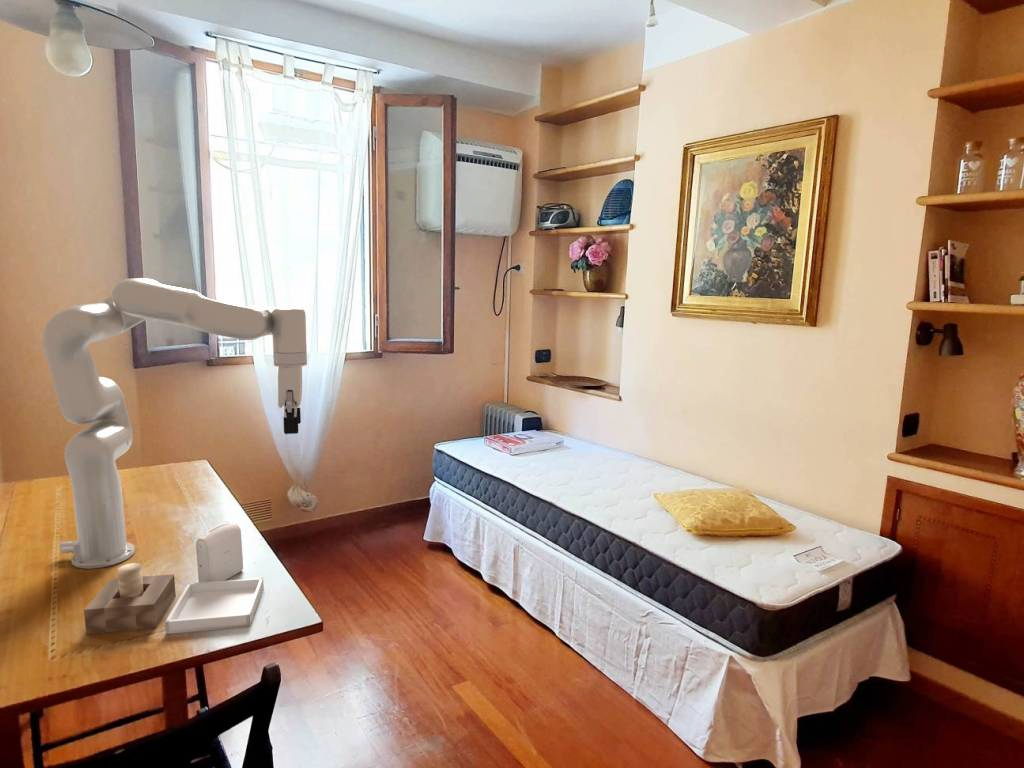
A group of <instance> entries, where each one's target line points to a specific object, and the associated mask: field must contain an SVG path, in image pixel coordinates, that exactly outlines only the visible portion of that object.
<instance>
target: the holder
mask: <svg viewBox="0 0 1024 768" xmlns="http://www.w3.org/2000/svg"><path fill="white" fill-rule="evenodd" d="M142 580H143V592H144V593H143V595H142V596H141V597H129V598H120V592H119V581H118V577H117V578H116V577H115V578H110V579H109V580H108V581H107V582H106V583H105V585H103V587H102V588H101V589H100V590H99V592H98V593H97V594H96V595H95V596H94V597H93V599H91V601H90V602H89V603H88V604H87V605H86V606H85V608H84V609H83V615H84V623H85V625H84V626H85V632H86V633H85V634H86V635H91V634H100V633H101V634H102V633H110V632H111V633H112V632H124V631H125V632H126V631H136V630H149V629H156V628H158V626H159V624H160V623H161V621H162V619H163V617H164V616H165V614H166V612H167V611H168V610H169V608H170V606H171V605H172V603H173V601H174V600H175V598H176V597H177V596H176V583H175V581H176V580H175V574H164V575H163V574H160V575H147V576H142Z"/></svg>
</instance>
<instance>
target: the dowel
mask: <svg viewBox="0 0 1024 768" xmlns="http://www.w3.org/2000/svg"><path fill="white" fill-rule="evenodd" d="M142 570H143V569H142V564H141V563H138V562H131V563H126V564H124V565H123V564H122V565H121V566H120V567H118V568H117V578H118V581H119V592H120V598H129V597H141V596H142V595H143V593H144V592H143V580H142V577H143V571H142Z"/></svg>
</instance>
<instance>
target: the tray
mask: <svg viewBox="0 0 1024 768" xmlns="http://www.w3.org/2000/svg"><path fill="white" fill-rule="evenodd" d="M264 584H265V583H264V577H254V578H241V579H239V578H238V579H231V580H230V579H229V580H228V579H227V580H225V581H212V582H199V581H198V582H189V583H187V585H186V587H185V588H184V590H183V592H182V593H181V594H180V596H179V598H178V600H177V602H176V603H175V605H174V606H173V608H172V609H171V611H170V613H169V615H168V617H167V618H166V619H165V621H164V626H165V635H168V634H170V635H171V634H180V633H193V632H203V631H213V630H215V631H216V630H224V629H225V630H226V629H235V628H236V629H237V628H248V627H251V625H252V622H253V619H254V616H255V614H256V611H257V609H258V605H259V602H260V600H261V597H262V595H261V594H263V592H262V591H264V589H263V588H265V587H264V586H265V585H264Z"/></svg>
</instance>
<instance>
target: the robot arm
mask: <svg viewBox="0 0 1024 768" xmlns="http://www.w3.org/2000/svg"><path fill="white" fill-rule="evenodd" d="M306 319H307V318H306V311H305V310H304V308H302V307H297V306H277V307H273V306H267V305H261V304H254V305H253V304H252V305H248V306H244V305H238V304H233V303H228V302H223V301H219V300H215V299H213V298H212V299H211V298H208V297H206V296H204V295H202V293H200V292H198V291H197V290H193V289H188V288H183V287H177V286H174V285H173V286H172V285H167V284H164V283H163V284H162V283H160V282H158V281H157V280H155V279H152V278H147V277H139V278H138V277H137V278H136V277H134V278H133V277H132V278H131V277H130V278H125V279H123V280H121V281H119V282H118V283H117V284H115V286H114V287H113V289H112V291H111V296H109V297H107V298H105V299H103V300H101V301H100V302H97V303H85V304H77V305H72V306H70V307H69V306H68V307H66V308H65V309H62V310H61V311H58V312H56V313H55V314H54V315H53V316H52V317H50V319H49V320H48V321H47V322H46V324H45V326H44V328H43V331H42V340H41V341H42V347H43V351H44V354H45V357H46V360H47V364H48V369H49V371H50V375H51V376H50V377H51V379H52V380H51V381H52V384H53V387H54V392H55V397H56V400H57V404H58V408H59V411H60V413H61V416H62V417H63V418H64V419H65V420H66V421H67V422H69V423H71V424H74V425H85V424H86V428H84V429H83V430H80V431H79V432H77V433H75V434H74V435H73V436H72V437H71V438H70V439H69V440H68V442H67V444H66V445H65V448H64V453H63V454H64V461H65V465H66V468H67V471H68V474H69V477H70V482H71V483H70V484H71V491H72V499H73V508H74V516H75V517H74V518H75V525H76V527H75V528H76V536H77V540H75V541H61V542H60V544H59V550H60V554H69V553H72V554H73V556H71V565H72V566H74V567H75V568H78V569H84V570H85V569H91V570H92V569H99V568H105V567H110V566H113V565H116V564H120V563H122V562H124V561H127V560H128V559H129V558H131V557H132V556H133V555H134V554H135V552H136V551H135V550H136V549H135V545H134V544H133V543H132V542H128V541H127V534H126V533H127V531H126V522H125V521H126V520H125V511H124V509H125V507H124V499H123V489H122V479H121V475H120V472H119V470H118V467H117V464H116V461H117V460H118V459H119V458H120V457H121V456H123V455H124V454H126V452H127V451H128V450H130V448H131V446H132V443H133V438H134V437H133V436H134V435H133V429H132V424H131V420H130V416H129V412H128V408H127V404H126V399H125V395H124V393H123V391H122V389H121V388H120V386H119V385H118V384H117V383H116V382H115V381H113V379H111V378H108V377H105V376H99V373H98V370H97V365H96V361H95V359H94V357H93V355H92V353H91V352H90V350H89V345H90V344H91V343H95V342H101V341H104V340H109V339H113V338H115V337H117V336H119V335H121V334H123V333H125V332H127V331H128V330H129V331H130V329H132V328H134V327H135V326H137V325H139V324H141V323H142V322H145V321H146V320H149V321H150V320H151V321H157V322H161V323H165V324H170V325H171V324H172V325H175V326H176V325H177V326H181V327H186V328H189V329H192V330H195V331H196V330H197V331H200V332H204V333H207V334H212V335H216V336H221V337H226V338H232V339H235V340H236V339H237V340H243V341H254V340H258V339H260V338H261V337H265V336H272V350H273V351H272V352H273V353H272V356H273V358H272V359H273V366H274V367H277V368H278V370H277V393H278V394H277V399H278V400H277V407H278V408H280V409H282V407H284V408H283V418H282V419H283V434H285V435H290V434H294V435H295V434H299V424H301V423H302V421H301V419H302V418H301V416H302V415H301V414H302V413H301V407H300V406H301V405H302V404H301V403H302V398H303V397H302V396H303V367H304V366H307V365H308V352H307V351H308V350H307V347H308V346H307V322H306V321H307V320H306Z"/></svg>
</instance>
